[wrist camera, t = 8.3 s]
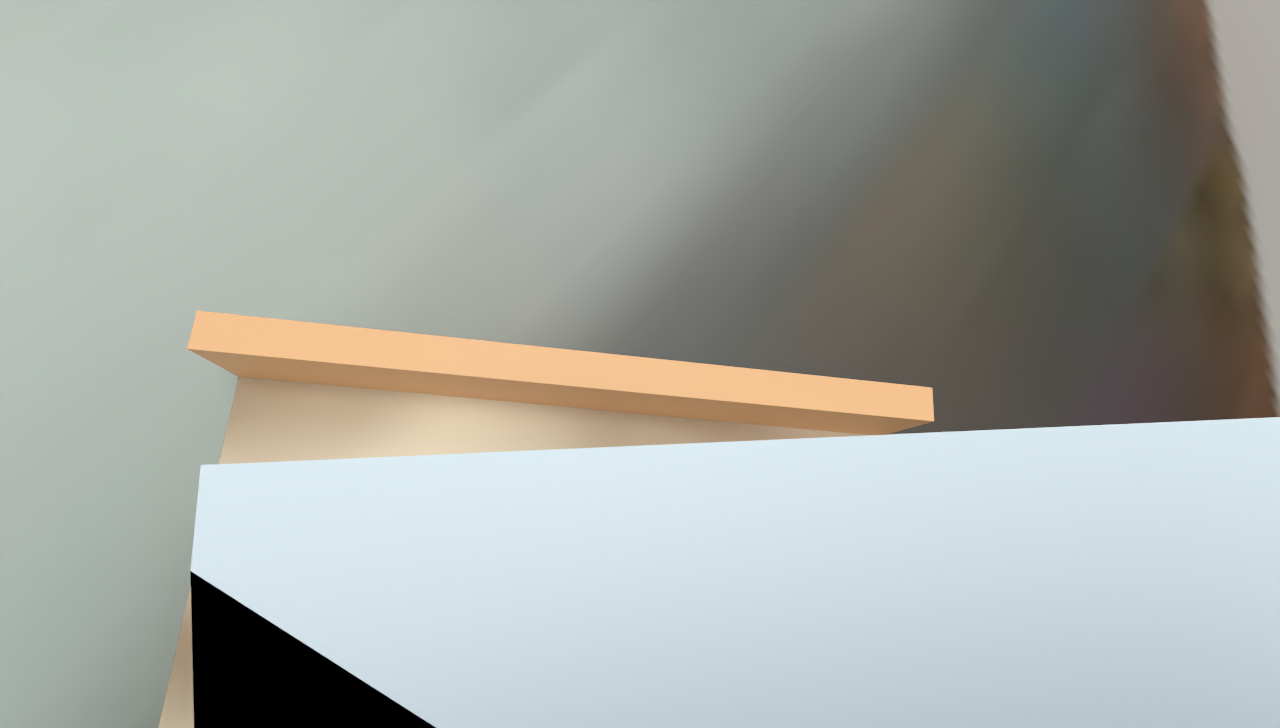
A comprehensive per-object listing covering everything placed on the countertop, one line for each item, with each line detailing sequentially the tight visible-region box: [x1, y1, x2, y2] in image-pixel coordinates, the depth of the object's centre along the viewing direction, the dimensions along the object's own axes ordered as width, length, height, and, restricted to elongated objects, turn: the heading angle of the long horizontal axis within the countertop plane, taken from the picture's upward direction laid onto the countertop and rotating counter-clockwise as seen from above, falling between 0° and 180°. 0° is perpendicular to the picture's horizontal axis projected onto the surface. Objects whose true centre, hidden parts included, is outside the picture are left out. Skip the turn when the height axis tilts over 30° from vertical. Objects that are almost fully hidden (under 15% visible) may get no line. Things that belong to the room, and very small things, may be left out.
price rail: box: [187, 311, 934, 435], centre depth 19 cm, size 1×20×3 cm, turn 86°
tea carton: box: [190, 417, 1280, 728], centre depth 8 cm, size 4×4×13 cm
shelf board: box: [158, 377, 868, 728], centre depth 20 cm, size 16×20×2 cm
